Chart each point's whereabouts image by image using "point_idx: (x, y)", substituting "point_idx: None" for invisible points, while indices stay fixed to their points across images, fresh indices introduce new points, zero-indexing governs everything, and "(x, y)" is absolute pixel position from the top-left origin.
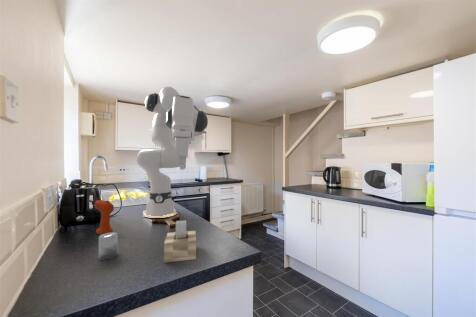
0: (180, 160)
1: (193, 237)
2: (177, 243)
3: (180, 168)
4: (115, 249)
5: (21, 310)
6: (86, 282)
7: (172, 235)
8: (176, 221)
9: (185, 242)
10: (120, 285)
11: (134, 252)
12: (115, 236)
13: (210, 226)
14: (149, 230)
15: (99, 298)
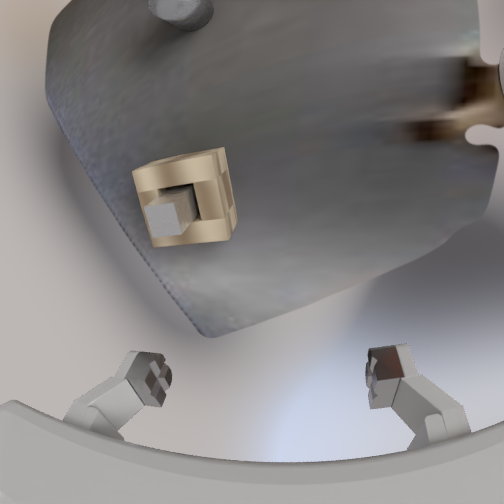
0: (79, 406)
1: (174, 239)
2: (141, 202)
3: (130, 356)
4: (179, 26)
5: (51, 30)
6: (93, 52)
7: (187, 177)
8: (168, 203)
9: (146, 221)
10: (85, 116)
11: (208, 63)
12: (164, 18)
13: (399, 258)
14: (394, 52)
15: (62, 106)
